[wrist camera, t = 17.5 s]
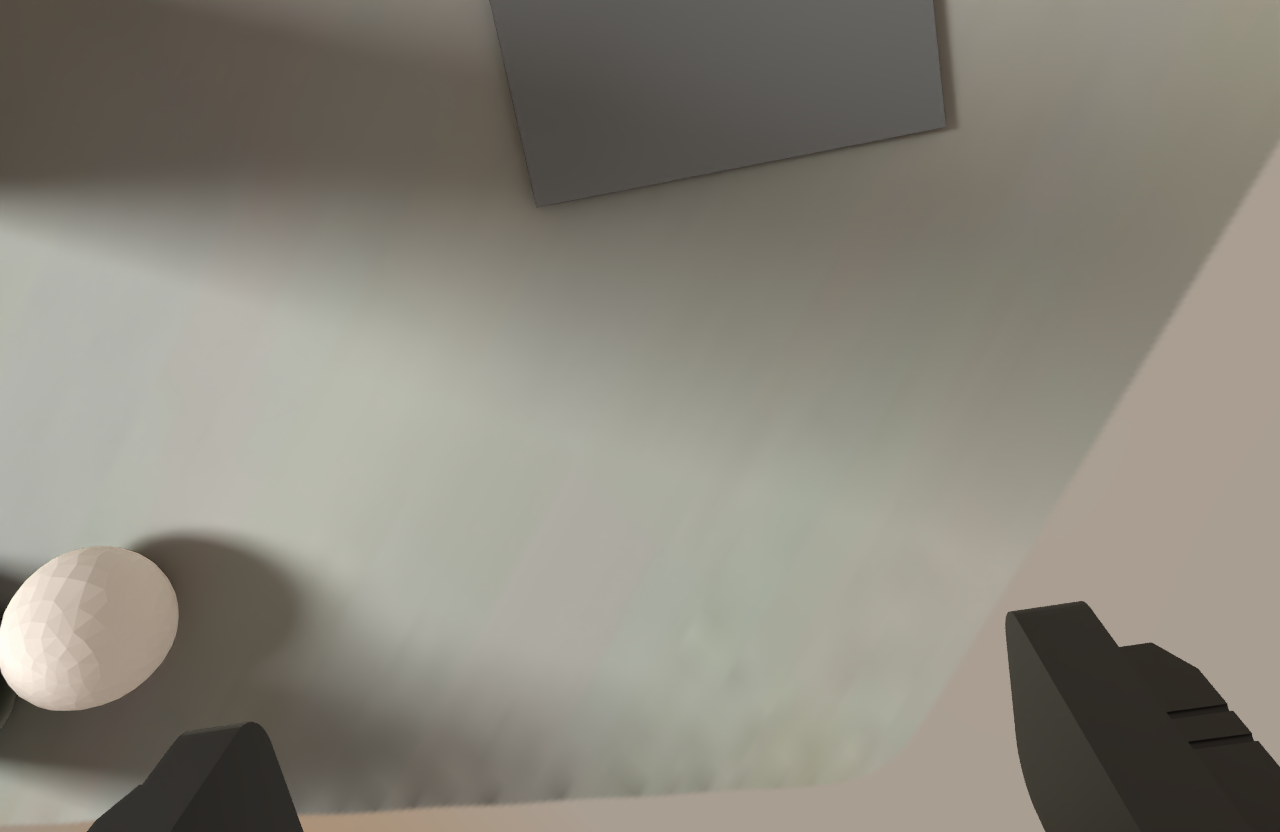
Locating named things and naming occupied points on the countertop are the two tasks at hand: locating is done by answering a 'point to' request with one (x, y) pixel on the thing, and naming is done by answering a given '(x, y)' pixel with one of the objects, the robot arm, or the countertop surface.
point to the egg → (87, 628)
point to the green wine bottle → (5, 699)
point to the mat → (708, 84)
